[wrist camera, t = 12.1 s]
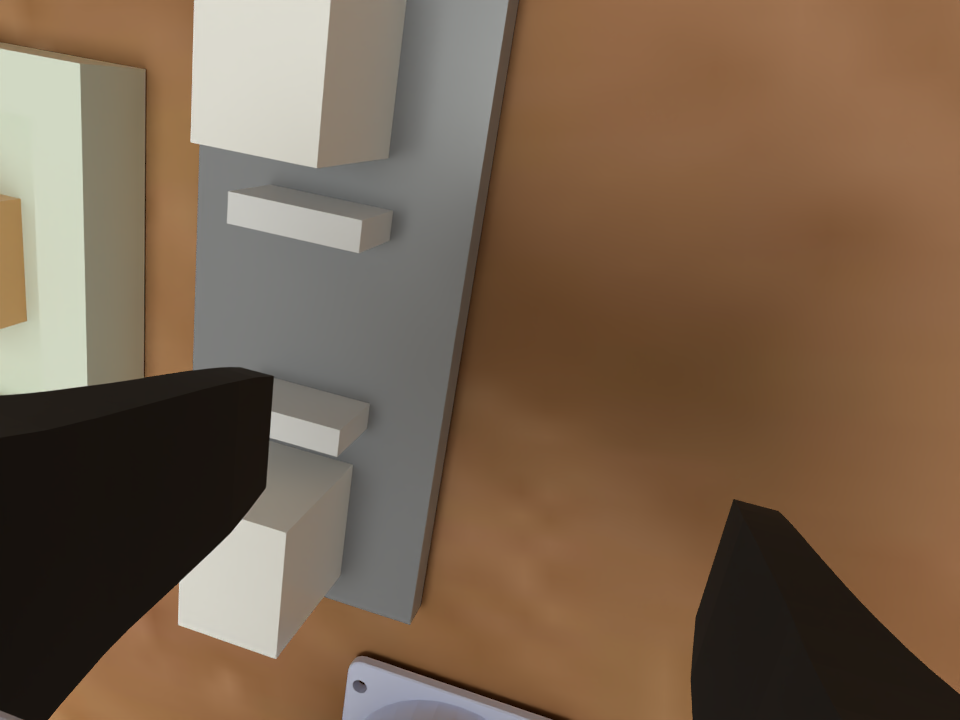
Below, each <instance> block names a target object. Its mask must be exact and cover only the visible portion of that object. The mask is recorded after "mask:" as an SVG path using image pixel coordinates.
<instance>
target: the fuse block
mask: <svg viewBox="0 0 960 720" xmlns="http://www.w3.org/2000/svg"><path fill="white" fill-rule="evenodd" d="M518 3H519V0H194V30H193V69H192V108H191V143H196V144H200V151H199V184H198V218H197V251H196V285H195V318H194V351H193V370H200V369H208V368H219V367H242V368H246V369H249V370H253V371H257V372H261V373H264V374H268V375H272V376H274V383H273V397H272V412H271V426H270V440H269V454H268V468H267V483H266V489H265V490H264V491H263V493H262V494H261V495H260V497H259V498H258V499H257V501H256V502H255V503H254V505H253V506H252V507H251V509H250V510H249V511H248V513H247V514H246V515H245V516H244V518H243V519H242V520H241V521H240V522H239V524H238V525H237V526H236V527H235V528H234V530H233V531H232V532H231V533H230V534H229V535H228V536H227V537H226V538H225V539H224V540H223V541H222V542H221V543H220V544H219V545H218V546H217V547H216V548H215V549H214V550H213V551H212V552H211V553H210V554H209V555H208V556H206V557H205V558H204V559H203V560H202V561H201V562H200V563H199V564H198V565H197V566H196V567H195V568H194V569H193V570H192V571H191V572H190V573H188V574H187V575H186V576H185V577H184V578H183V579H182V580H181V581H180V582H179V612H178V625H180V626H183V627H186V628H189V629H191V630H194V631H197V632H200V633H203V634H206V635H209V636H211V637H214V638H217V639H220V640H223V641H226V642H229V643H231V644H234V645H237V646H240V647H243V648H246V649H249V650H252V651H254V652H257V653H260V654H263V655H266V656H269V657H272V658H274V659H276V658H277V657H278V656H279V654H280V653H281V652H282V650H283V649H284V648H285V647H286V645H287V644H288V643H289V641H290V640H291V639H292V637H293V636H294V635H295V634H296V632H297V631H298V630H299V628H300V627H301V626H302V624H303V623H304V622H305V621H306V619H307V618H308V617H309V615H310V614H311V613H312V611H313V610H314V609H315V608H316V606H317V605H318V604H319V602H320V601H321V600H322V599H323V597H326V598H329V599H332V600H336V601H339V602H342V603H345V604H348V605H351V606H354V607H357V608H360V609H363V610H366V611H369V612H372V613H375V614H378V615H381V616H385V617H388V618H391V619H394V620H397V621H400V622H403V623H406V624H409V625H410V624H411V622H412V620H413V618H414V617H415V615H416V613H417V611H418V609H419V608H420V606H421V600H422V594H423V588H424V581H425V575H426V569H427V563H428V557H429V551H430V544H431V538H432V532H433V526H434V520H435V514H436V508H437V501H438V495H439V489H440V483H441V477H442V471H443V464H444V458H445V452H446V446H447V440H448V434H449V428H450V421H451V415H452V409H453V403H454V397H455V391H456V384H457V378H458V372H459V366H460V360H461V354H462V348H463V341H464V335H465V329H466V323H467V317H468V311H469V304H470V298H471V292H472V286H473V280H474V274H475V268H476V261H477V255H478V249H479V243H480V237H481V231H482V224H483V218H484V212H485V206H486V200H487V194H488V188H489V181H490V175H491V169H492V163H493V157H494V151H495V144H496V138H497V132H498V126H499V120H500V114H501V108H502V101H503V95H504V89H505V83H506V77H507V71H508V64H509V58H510V52H511V46H512V40H513V34H514V27H515V21H516V15H517V9H518Z"/></svg>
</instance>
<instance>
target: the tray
mask: <svg viewBox="0 0 960 720" xmlns="http://www.w3.org/2000/svg"><path fill="white" fill-rule="evenodd" d="M145 85H146V69H142V68H136V67H131V66H126V65H120V64H115V63H110V62H104V61H99V60H94V59H88V58H83V57H77V56H72V55H67V54H61V53H56V52H51V51H45V50H40V49H35V48H29V47H24V46H18V45H13V44H8V43H2V42H0V194H2V195H6V196H11V197H15V198H19V199H21V214H22V233H23V252H24V271H25V291H26V310H27V321H25V322H22V323H19V324H15V325H12V326H9V327H6V328H2V329H0V395H12V394H24V393H35V392H45V391H53V390H60V389H68V388H76V387H83V386H91V385H99V384H106V383H114V382H120V381H127V380H133V379H140V378H144V269H145Z"/></svg>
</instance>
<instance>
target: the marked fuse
mask: <svg viewBox="0 0 960 720" xmlns="http://www.w3.org/2000/svg"><path fill="white" fill-rule="evenodd" d="M25 321H27V310H26V291H25V271H24V252H23V233H22V214H21V199H19V198H15V197H11V196H6V195H2V194H0V329H2V328H6V327H9V326H12V325H15V324H19V323H22V322H25Z"/></svg>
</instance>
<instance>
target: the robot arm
mask: <svg viewBox="0 0 960 720" xmlns="http://www.w3.org/2000/svg"><path fill="white" fill-rule="evenodd" d="M273 383H274V376H272V375H268V374H264V373H261V372H257V371H253V370H249V369H246V368H242V367H219V368H208V369H200V370H192V371H185V372H178V373H172V374H165V375H159V376H152V377H146V378H140V379H133V380H127V381H120V382H114V383H106V384H99V385H91V386H83V387H76V388H68V389H60V390H53V391H45V392H35V393H24V394H12V395H0V720H48V719H49V718H50V717H51V715H52V714H53V713H54V712H55V711H56V709H57V708H58V707H59V706H60V704H61V703H62V702H63V701H64V700H65V699H66V698H67V696H68V695H69V694H70V693H71V692H72V691H73V690H74V688H75V687H76V686H77V685H78V684H79V683H80V681H81V680H82V679H83V678H84V677H85V676H86V675H87V673H88V672H89V671H90V670H91V669H92V668H93V667H94V665H95V664H96V663H97V662H98V661H99V660H100V658H101V657H102V656H103V655H104V654H105V653H106V652H107V651H108V650H109V649H110V648H111V647H112V646H113V645H114V644H115V643H116V642H117V641H118V640H119V639H120V637H121V636H122V635H123V634H124V633H125V632H126V631H127V630H128V629H129V628H130V627H132V626H133V625H134V624H135V623H136V622H137V621H138V620H139V619H140V618H141V617H142V616H143V615H144V614H145V613H147V612H148V611H149V610H150V609H151V608H152V607H153V606H154V605H155V604H156V603H157V602H158V601H159V600H161V599H162V598H163V597H164V596H165V595H166V594H167V593H168V592H169V591H170V590H171V589H172V588H173V587H174V586H176V585H177V584H178V583H179V582H180V581H181V580H182V579H183V578H184V577H185V576H186V575H187V574H188V573H190V572H191V571H192V570H193V569H194V568H195V567H196V566H197V565H198V564H199V563H200V562H201V561H202V560H203V559H204V558H205V557H206V556H208V555H209V554H210V553H211V552H212V551H213V550H214V549H215V548H216V547H217V546H218V545H219V544H220V543H221V542H222V541H223V540H224V539H225V538H226V537H227V536H228V535H229V534H230V533H231V532H232V531H233V530H234V528H235V527H236V526H237V525H238V524H239V522H240V521H241V520H242V519H243V518H244V516H245V515H246V514H247V513H248V511H249V510H250V509H251V507H252V506H253V505H254V503H255V502H256V501H257V499H258V498H259V497H260V495H261V494H262V493H263V491H264V490H265V489H266V483H267V468H268V454H269V440H270V426H271V412H272V397H273ZM359 680H360V681H362V682H364V683H365V685H363V684H362V683H360V682H359ZM691 695H692V715H693V720H960V694H959V693H958V692H956V691H955V690H954V689H953V688H952V687H950V686H949V685H948V684H947V683H946V682H944V681H943V680H942V679H941V678H940V677H939V676H937V675H936V674H935V673H934V672H933V671H931V670H930V669H929V668H928V667H927V666H926V665H925V664H924V663H922V662H921V661H920V660H919V659H918V658H917V657H916V656H915V655H914V654H913V653H911V652H910V651H909V650H908V649H907V648H906V647H905V646H904V645H903V644H902V643H901V642H900V641H899V640H898V639H897V638H896V637H895V636H894V635H893V634H892V633H891V632H890V631H889V630H888V629H887V628H886V627H885V626H884V625H883V624H882V623H881V622H880V621H879V620H878V619H877V618H876V617H875V616H874V615H873V614H872V613H871V612H870V611H869V610H868V609H867V608H866V607H865V606H864V605H863V604H862V603H861V602H860V601H859V600H858V599H857V598H856V597H855V596H854V594H853V593H852V592H851V591H850V590H849V589H848V588H847V587H846V586H845V585H844V584H843V582H842V581H841V580H840V579H839V578H838V577H837V576H836V575H835V574H834V572H833V571H832V570H831V569H830V568H829V567H828V566H827V564H826V563H825V562H824V561H823V560H822V559H821V558H820V556H819V555H818V554H817V553H816V552H815V551H814V549H813V548H812V547H811V546H810V545H809V544H808V543H807V541H806V540H805V539H804V538H803V537H802V536H801V534H800V533H799V532H798V531H797V530H796V529H795V528H794V527H793V525H792V524H791V523H790V522H789V521H788V520H787V519H786V518H785V517H784V516H783V515H782V514H781V513H780V512H779V511H776V510H772V509H768V508H764V507H761V506H757V505H753V504H749V503H746V502H742V501H738V500H735V499H734V500H733V503H732V506H731V509H730V512H729V515H728V518H727V522H726V525H725V528H724V531H723V534H722V537H721V540H720V543H719V547H718V550H717V553H716V556H715V559H714V562H713V565H712V568H711V572H710V575H709V578H708V581H707V584H706V587H705V590H704V593H703V596H702V600H701V603H700V606H699V609H698V612H697V615H696V621H695V632H694V644H693V655H692V669H691ZM342 720H552V719H549V718H546V717H543V716H540V715H537V714H534V713H531V712H528V711H525V710H522V709H519V708H516V707H514V706H511V705H508V704H505V703H502V702H499V701H496V700H493V699H490V698H487V697H484V696H481V695H478V694H475V693H472V692H469V691H466V690H463V689H461V688H458V687H455V686H452V685H449V684H446V683H443V682H440V681H437V680H434V679H431V678H428V677H425V676H422V675H419V674H416V673H413V672H410V671H408V670H405V669H402V668H399V667H396V666H393V665H390V664H387V663H384V662H381V661H378V660H375V659H372V658H369V657H366V656H359V657H356V658H355V659H354V660H353V661H352V663H351V665H350V667H349V669H348V676H347V684H346V692H345V700H344V708H343V716H342Z"/></svg>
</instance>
